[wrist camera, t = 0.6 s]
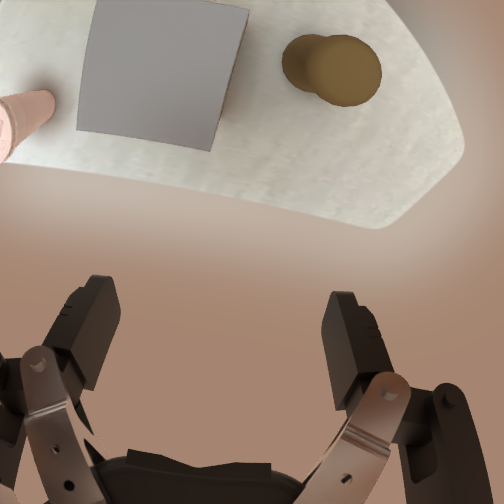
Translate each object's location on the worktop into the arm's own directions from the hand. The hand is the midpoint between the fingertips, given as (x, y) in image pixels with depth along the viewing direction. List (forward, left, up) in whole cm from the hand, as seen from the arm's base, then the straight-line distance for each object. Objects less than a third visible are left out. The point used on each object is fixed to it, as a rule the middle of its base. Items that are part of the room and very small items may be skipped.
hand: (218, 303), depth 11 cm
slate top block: (-6, -6, -17) cm, 19 cm away
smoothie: (0, -21, -23) cm, 31 cm away
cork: (-9, +6, -23) cm, 25 cm away
